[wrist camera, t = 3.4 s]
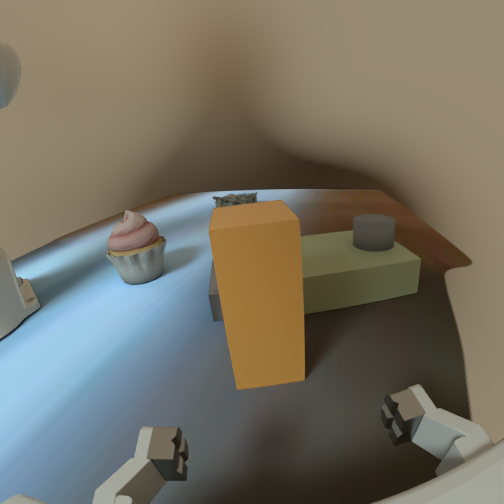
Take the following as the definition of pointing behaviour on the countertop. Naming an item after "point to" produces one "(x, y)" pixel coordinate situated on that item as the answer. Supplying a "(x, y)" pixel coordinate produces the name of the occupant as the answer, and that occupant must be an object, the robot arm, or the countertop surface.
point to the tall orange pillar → (260, 291)
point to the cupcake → (136, 249)
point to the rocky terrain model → (235, 199)
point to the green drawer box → (349, 267)
